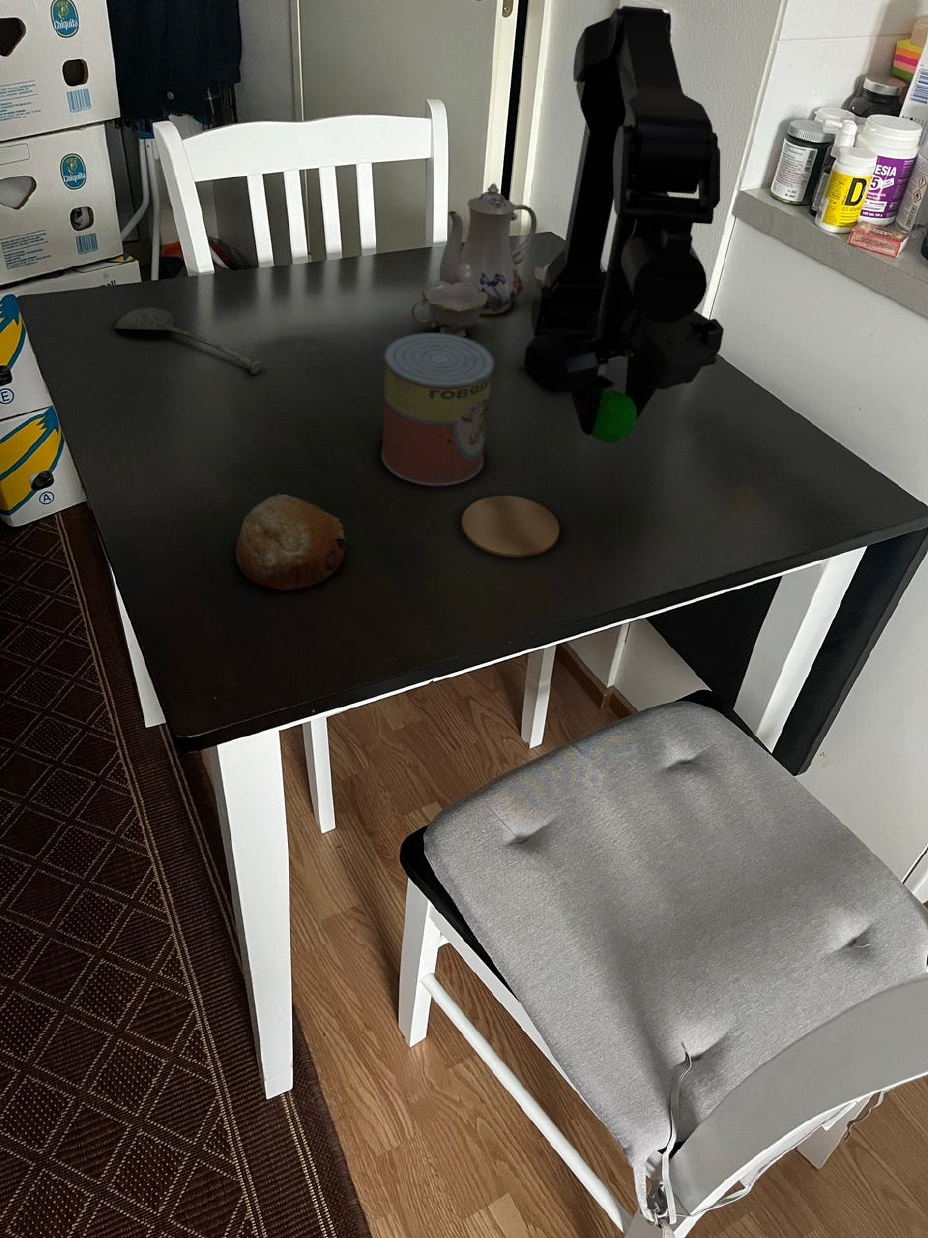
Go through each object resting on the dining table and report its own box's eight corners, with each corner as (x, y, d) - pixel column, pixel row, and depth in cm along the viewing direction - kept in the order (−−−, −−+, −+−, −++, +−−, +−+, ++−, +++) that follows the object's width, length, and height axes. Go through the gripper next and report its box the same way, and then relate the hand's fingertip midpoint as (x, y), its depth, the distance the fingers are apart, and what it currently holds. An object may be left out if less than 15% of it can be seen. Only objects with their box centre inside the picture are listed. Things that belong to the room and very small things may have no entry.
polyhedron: (572, 439, 96) (580, 395, 93) (595, 419, 99) (604, 376, 96) (618, 457, 94) (627, 413, 91) (640, 436, 97) (650, 393, 94)
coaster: (524, 489, 106) (524, 486, 106) (577, 541, 100) (578, 538, 100) (443, 512, 102) (444, 509, 102) (494, 568, 96) (495, 565, 96)
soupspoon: (144, 316, 130) (106, 336, 126) (139, 292, 127) (100, 311, 123) (274, 363, 122) (239, 386, 118) (271, 338, 119) (235, 360, 115)
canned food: (447, 498, 104) (456, 397, 96) (361, 461, 108) (362, 360, 100) (501, 453, 111) (514, 355, 103) (418, 419, 115) (424, 322, 107)
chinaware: (443, 367, 128) (462, 245, 116) (374, 304, 136) (385, 184, 124) (602, 323, 142) (632, 210, 130) (530, 268, 150) (553, 157, 138)
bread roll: (262, 554, 100) (222, 495, 95) (355, 521, 98) (319, 458, 93) (255, 620, 93) (211, 560, 88) (355, 585, 91) (316, 522, 86)
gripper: (612, 328, 77) (580, 494, 87) (783, 291, 85) (735, 447, 95) (531, 272, 83) (511, 432, 94) (697, 242, 91) (661, 393, 102)
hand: (608, 427), depth 96 cm, fingers closed on polyhedron, 5 cm apart
